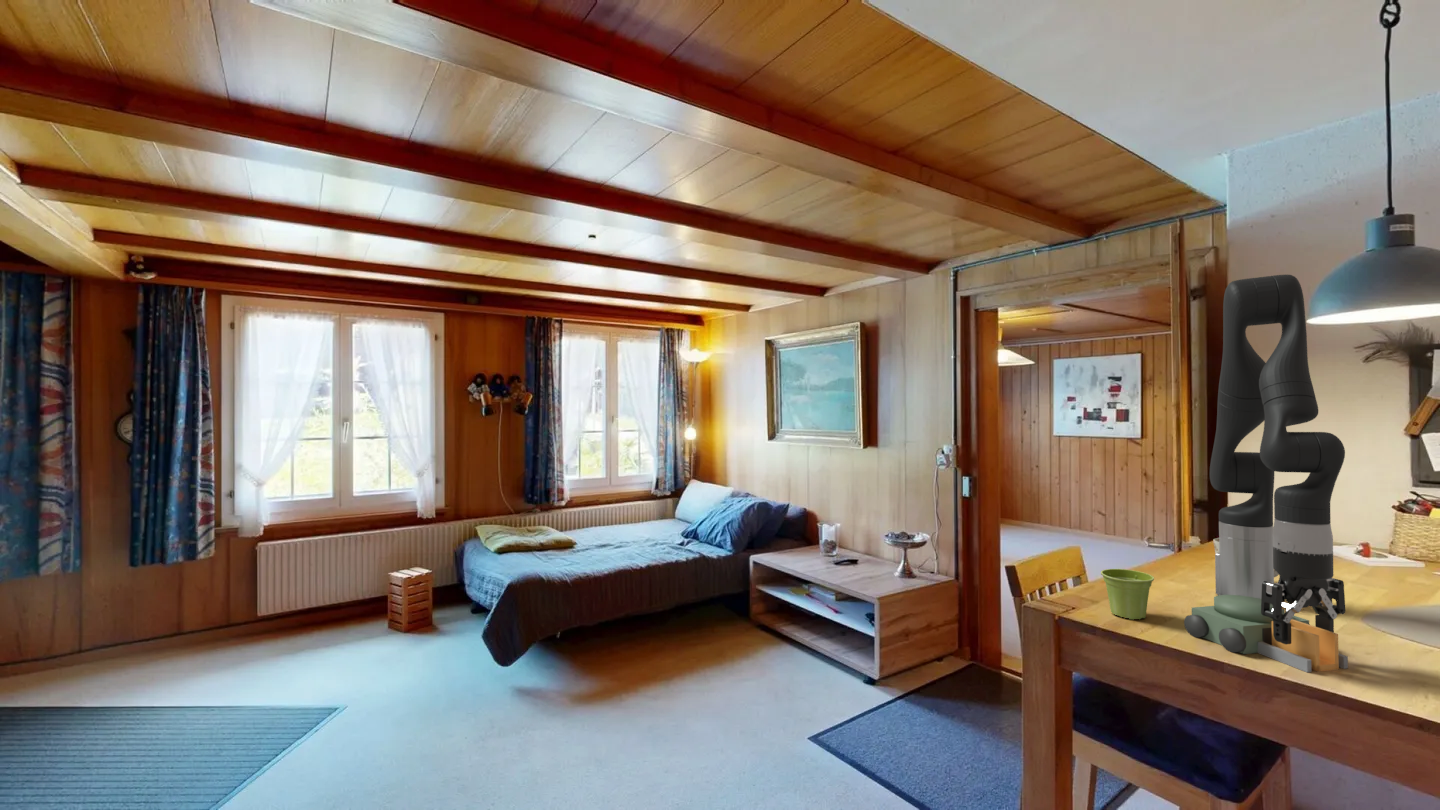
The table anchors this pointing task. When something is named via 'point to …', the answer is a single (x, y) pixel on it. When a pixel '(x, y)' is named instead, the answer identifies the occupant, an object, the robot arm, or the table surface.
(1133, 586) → the plant pot
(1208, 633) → the toy forklift
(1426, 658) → the table surface
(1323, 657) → the orange u-channel
